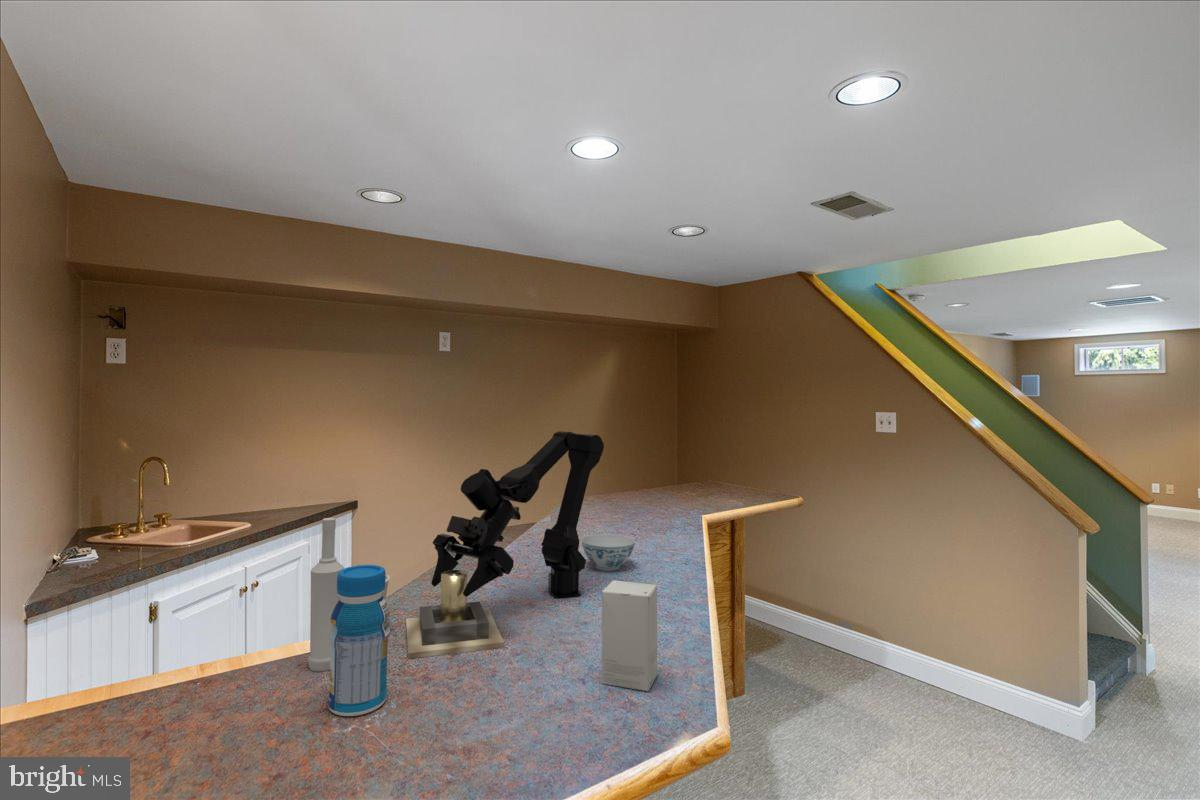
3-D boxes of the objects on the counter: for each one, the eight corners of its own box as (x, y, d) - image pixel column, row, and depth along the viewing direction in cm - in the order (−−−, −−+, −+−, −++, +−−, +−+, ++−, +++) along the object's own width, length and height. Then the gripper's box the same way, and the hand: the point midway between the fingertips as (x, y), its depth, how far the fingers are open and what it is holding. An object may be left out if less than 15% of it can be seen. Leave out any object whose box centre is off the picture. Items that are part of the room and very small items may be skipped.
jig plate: (489, 615, 124) (489, 596, 124) (503, 647, 108) (504, 626, 108) (405, 623, 118) (406, 603, 118) (408, 658, 102) (408, 636, 102)
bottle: (315, 658, 101) (319, 515, 101) (345, 658, 101) (349, 516, 102) (302, 672, 96) (307, 522, 96) (334, 672, 96) (339, 522, 96)
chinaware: (635, 576, 155) (636, 547, 155) (579, 574, 155) (580, 545, 155) (633, 560, 170) (633, 534, 170) (582, 559, 170) (582, 533, 170)
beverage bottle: (350, 725, 81) (354, 582, 81) (314, 707, 85) (318, 571, 85) (399, 699, 88) (403, 568, 88) (364, 684, 92) (368, 559, 92)
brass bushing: (469, 625, 115) (470, 569, 115) (461, 635, 110) (462, 577, 110) (445, 624, 115) (446, 568, 115) (435, 634, 110) (437, 575, 111)
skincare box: (658, 676, 98) (660, 584, 98) (648, 694, 92) (650, 596, 92) (611, 667, 101) (613, 578, 101) (598, 684, 94) (601, 589, 94)
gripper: (441, 495, 121) (394, 558, 112) (505, 506, 111) (458, 576, 102) (468, 526, 128) (426, 588, 119) (531, 539, 117) (490, 609, 108)
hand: (448, 590), depth 112 cm, fingers open, 9 cm apart
